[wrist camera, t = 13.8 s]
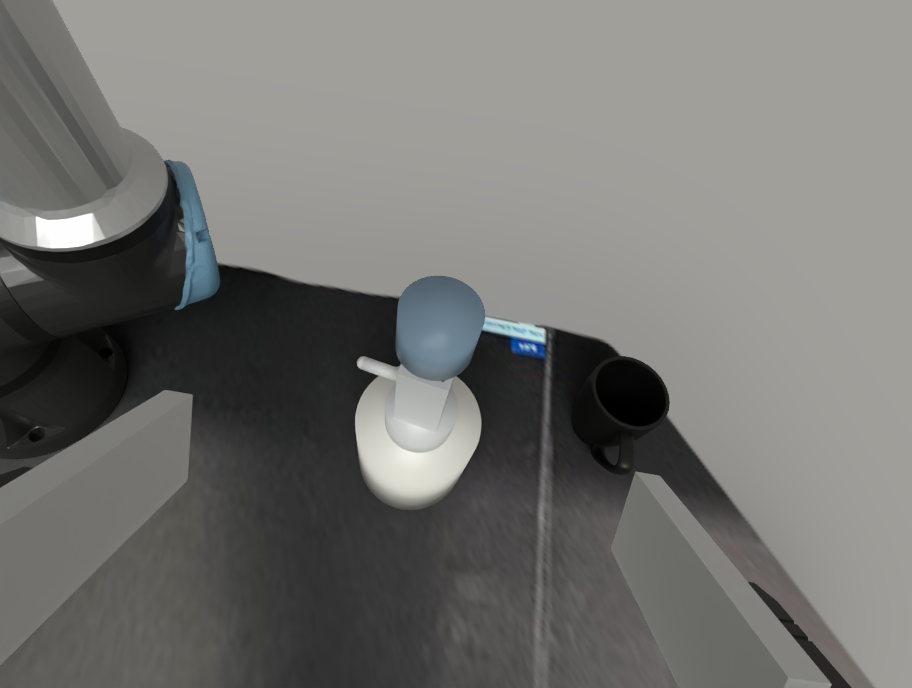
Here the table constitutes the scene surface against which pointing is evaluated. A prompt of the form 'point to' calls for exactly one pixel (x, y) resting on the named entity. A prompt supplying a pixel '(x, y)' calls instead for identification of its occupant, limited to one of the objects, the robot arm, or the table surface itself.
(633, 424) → the mug
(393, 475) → the bottle
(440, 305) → the plunger
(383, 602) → the table surface
